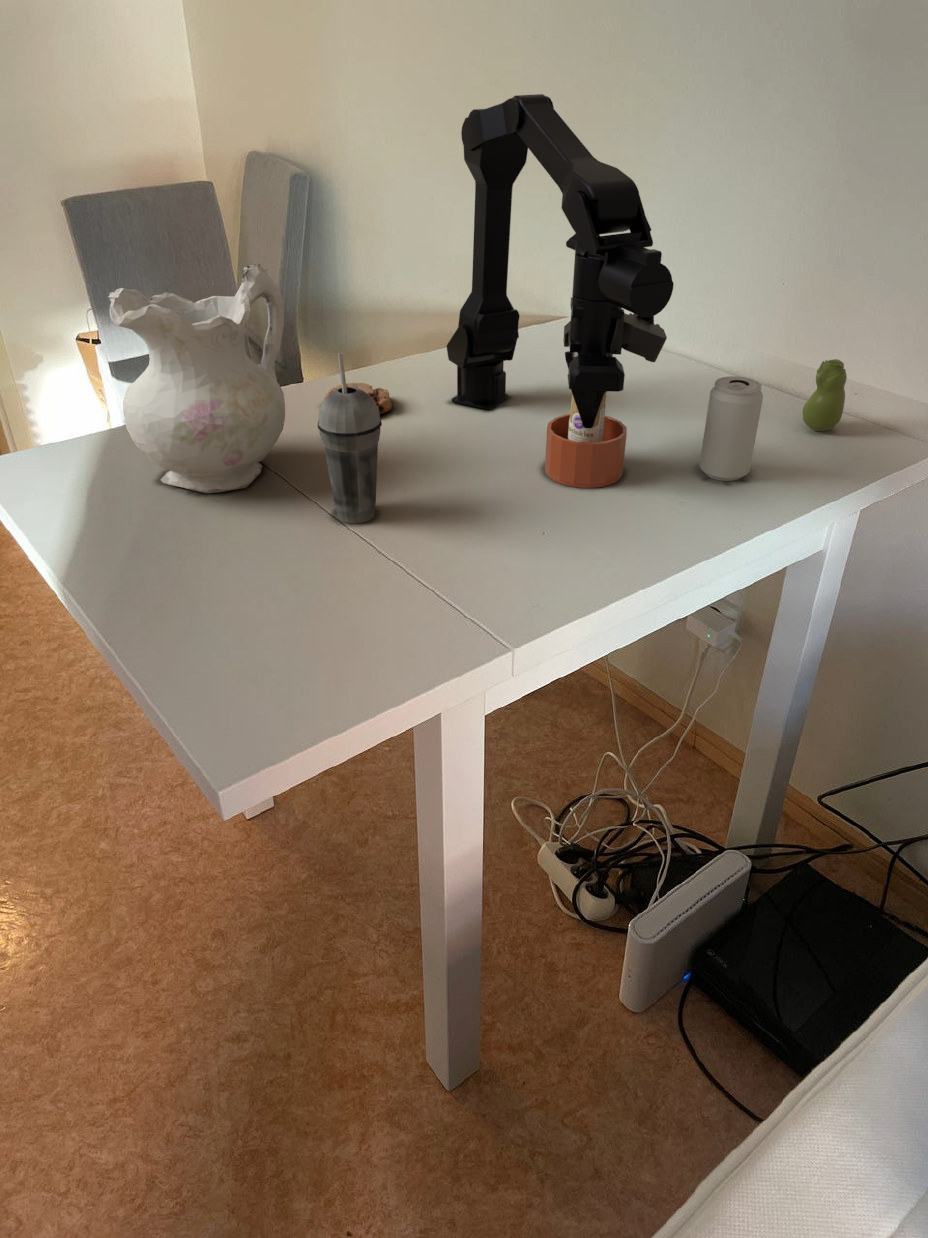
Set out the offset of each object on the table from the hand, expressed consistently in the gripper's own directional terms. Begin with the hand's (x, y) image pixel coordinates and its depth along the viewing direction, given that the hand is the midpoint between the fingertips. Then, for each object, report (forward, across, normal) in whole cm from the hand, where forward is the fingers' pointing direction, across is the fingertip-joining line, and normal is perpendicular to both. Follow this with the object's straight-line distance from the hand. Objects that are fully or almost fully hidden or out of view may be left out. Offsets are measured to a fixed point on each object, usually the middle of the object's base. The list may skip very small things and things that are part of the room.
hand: (586, 420), depth 121 cm
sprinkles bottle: (+6, 0, 0) cm, 7 cm away
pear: (+7, +16, -34) cm, 38 cm away
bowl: (+7, 0, 0) cm, 7 cm away
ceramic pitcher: (+7, -2, +47) cm, 47 cm away
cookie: (+7, +20, +32) cm, 39 cm away
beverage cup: (+7, -14, +28) cm, 32 cm away
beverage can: (+7, 0, -18) cm, 20 cm away
